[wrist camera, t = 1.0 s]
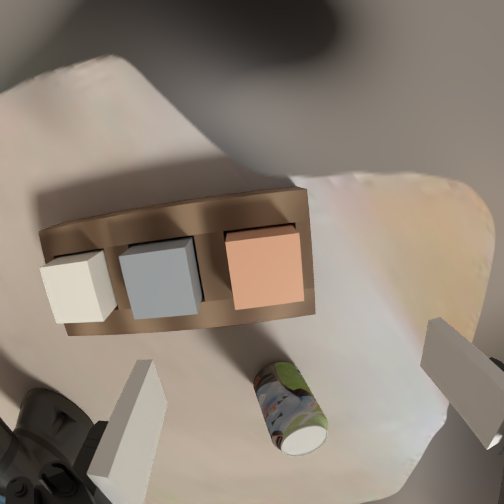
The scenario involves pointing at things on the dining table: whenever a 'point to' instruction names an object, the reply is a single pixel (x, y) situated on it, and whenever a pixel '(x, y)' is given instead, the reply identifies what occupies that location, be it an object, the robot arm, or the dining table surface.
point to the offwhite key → (79, 287)
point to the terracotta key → (265, 266)
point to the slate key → (162, 278)
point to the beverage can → (290, 409)
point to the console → (206, 251)
